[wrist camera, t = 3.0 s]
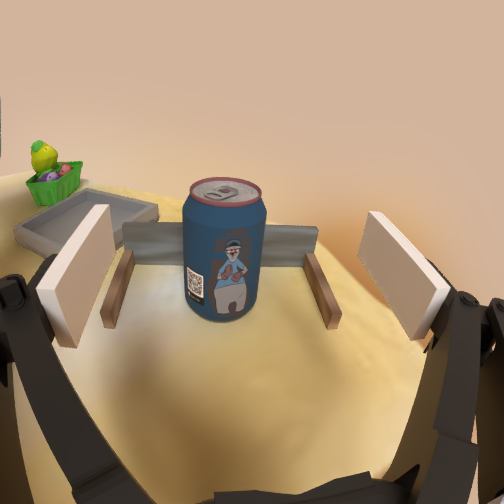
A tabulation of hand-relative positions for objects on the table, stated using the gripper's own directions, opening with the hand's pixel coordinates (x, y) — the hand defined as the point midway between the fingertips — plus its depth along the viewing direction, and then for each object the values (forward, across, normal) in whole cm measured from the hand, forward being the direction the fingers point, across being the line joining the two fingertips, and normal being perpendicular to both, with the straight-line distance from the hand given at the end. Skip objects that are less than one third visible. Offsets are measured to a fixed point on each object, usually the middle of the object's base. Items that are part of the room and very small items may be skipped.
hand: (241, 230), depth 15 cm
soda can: (+10, 0, -14) cm, 17 cm away
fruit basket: (+39, -32, -13) cm, 52 cm away
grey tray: (+25, -20, -13) cm, 35 cm away
